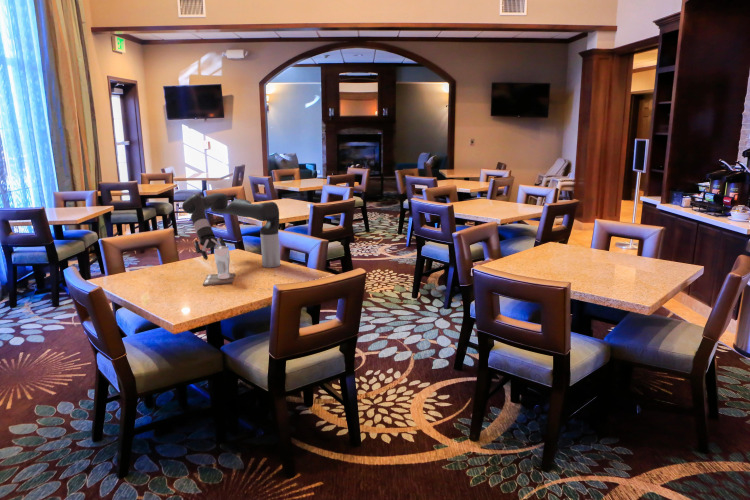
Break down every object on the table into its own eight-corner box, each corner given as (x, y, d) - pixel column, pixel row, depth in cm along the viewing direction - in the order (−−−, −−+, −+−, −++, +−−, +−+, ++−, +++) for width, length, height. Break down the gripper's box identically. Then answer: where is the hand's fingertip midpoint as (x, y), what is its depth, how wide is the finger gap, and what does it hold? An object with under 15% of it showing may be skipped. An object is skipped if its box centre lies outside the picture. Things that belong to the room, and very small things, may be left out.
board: (207, 276, 266) (207, 274, 266) (234, 274, 268) (234, 272, 268) (202, 285, 250) (202, 283, 250) (231, 284, 252) (231, 282, 252)
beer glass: (213, 279, 258) (210, 248, 254) (222, 275, 264) (219, 245, 260) (225, 280, 255) (222, 249, 252) (234, 276, 261) (231, 246, 258)
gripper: (215, 232, 273) (227, 259, 267) (188, 236, 265) (199, 264, 259) (219, 224, 268) (231, 250, 262) (191, 227, 259) (202, 255, 253)
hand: (215, 257), depth 260 cm, fingers open, 8 cm apart
